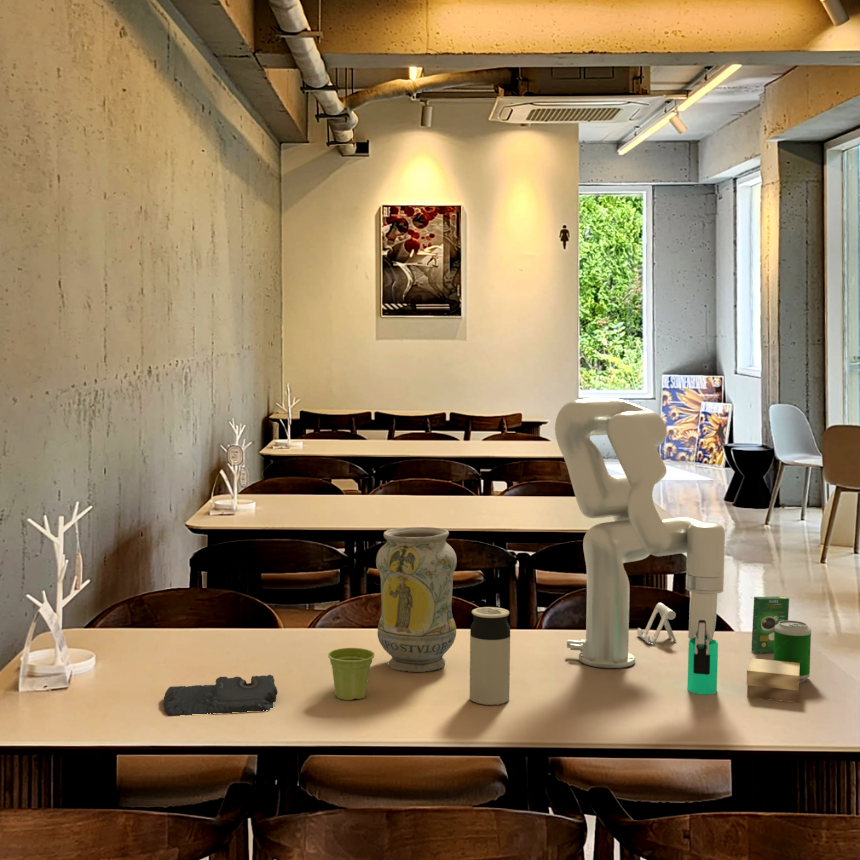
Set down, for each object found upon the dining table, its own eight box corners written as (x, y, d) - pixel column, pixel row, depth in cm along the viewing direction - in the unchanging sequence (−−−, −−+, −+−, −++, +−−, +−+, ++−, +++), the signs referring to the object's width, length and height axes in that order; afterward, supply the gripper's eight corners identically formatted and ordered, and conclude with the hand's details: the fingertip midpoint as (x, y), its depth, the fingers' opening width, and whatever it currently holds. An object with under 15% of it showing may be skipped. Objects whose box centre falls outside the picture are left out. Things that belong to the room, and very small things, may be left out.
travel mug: (482, 708, 213) (483, 617, 212) (462, 696, 221) (463, 608, 219) (516, 702, 217) (518, 613, 216) (496, 691, 224) (497, 605, 223)
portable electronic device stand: (637, 636, 270) (637, 603, 270) (667, 635, 271) (668, 602, 271) (647, 645, 262) (648, 611, 261) (679, 644, 263) (680, 610, 262)
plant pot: (381, 692, 223) (381, 650, 223) (363, 705, 214) (363, 662, 214) (339, 687, 226) (339, 645, 226) (320, 700, 217) (320, 657, 217)
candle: (683, 685, 229) (684, 629, 229) (711, 685, 230) (712, 629, 229) (692, 694, 223) (694, 636, 223) (721, 694, 224) (722, 636, 223)
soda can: (812, 684, 231) (813, 628, 230) (774, 682, 233) (776, 626, 232) (807, 674, 238) (808, 620, 238) (771, 672, 240) (772, 618, 239)
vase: (361, 670, 239) (362, 534, 237) (394, 650, 255) (395, 522, 253) (438, 680, 232) (439, 540, 230) (467, 658, 248) (468, 528, 247)
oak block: (746, 685, 222) (746, 670, 222) (749, 672, 231) (749, 658, 231) (798, 690, 219) (798, 675, 218) (799, 677, 228) (799, 663, 228)
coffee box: (781, 649, 259) (783, 594, 258) (788, 652, 256) (789, 597, 255) (750, 651, 257) (752, 596, 257) (756, 654, 255) (758, 598, 254)
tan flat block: (746, 699, 222) (747, 685, 222) (748, 685, 232) (748, 672, 231) (798, 704, 219) (799, 690, 219) (798, 690, 228) (798, 676, 228)
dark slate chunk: (165, 695, 221) (164, 672, 221) (274, 689, 226) (274, 667, 225) (162, 720, 206) (161, 695, 206) (279, 713, 211) (279, 689, 210)
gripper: (689, 574, 234) (687, 657, 236) (682, 589, 218) (680, 679, 219) (725, 576, 232) (723, 661, 233) (721, 592, 216) (719, 683, 217)
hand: (702, 669), depth 226 cm, fingers closed on candle, 4 cm apart
